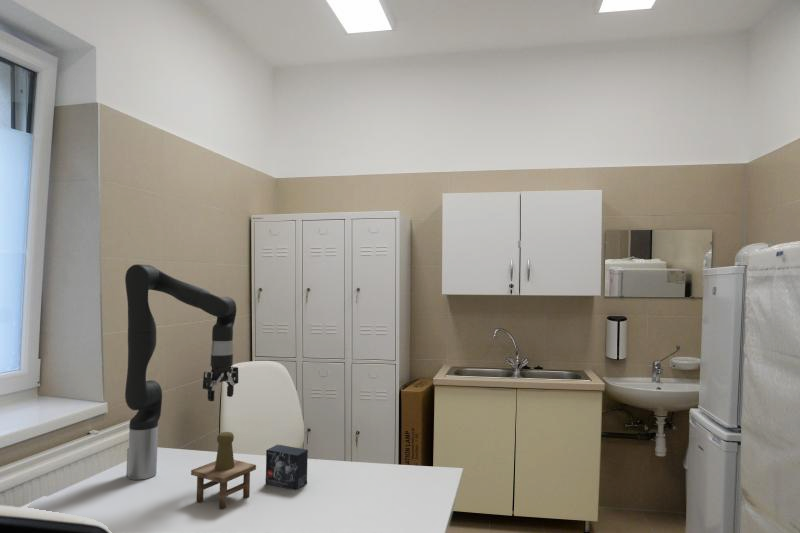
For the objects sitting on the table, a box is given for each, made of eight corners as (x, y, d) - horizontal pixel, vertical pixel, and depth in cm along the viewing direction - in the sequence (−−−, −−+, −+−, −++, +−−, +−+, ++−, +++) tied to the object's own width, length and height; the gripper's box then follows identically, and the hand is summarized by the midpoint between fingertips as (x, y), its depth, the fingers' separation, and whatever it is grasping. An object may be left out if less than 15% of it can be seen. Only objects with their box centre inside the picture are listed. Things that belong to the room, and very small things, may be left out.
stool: (190, 502, 167) (191, 470, 167) (224, 487, 179) (225, 457, 179) (222, 511, 160) (223, 478, 160) (255, 495, 172) (256, 464, 173)
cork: (228, 471, 167) (229, 436, 167) (211, 469, 168) (212, 434, 168) (237, 464, 173) (238, 430, 173) (220, 463, 174) (221, 429, 174)
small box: (264, 484, 182) (265, 449, 183) (276, 477, 189) (277, 444, 189) (297, 490, 177) (297, 454, 178) (307, 483, 184) (308, 449, 184)
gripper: (229, 350, 196) (228, 393, 196) (198, 354, 184) (197, 401, 183) (244, 351, 193) (243, 396, 192) (213, 356, 180) (212, 404, 180)
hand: (220, 398), depth 188 cm, fingers open, 8 cm apart
